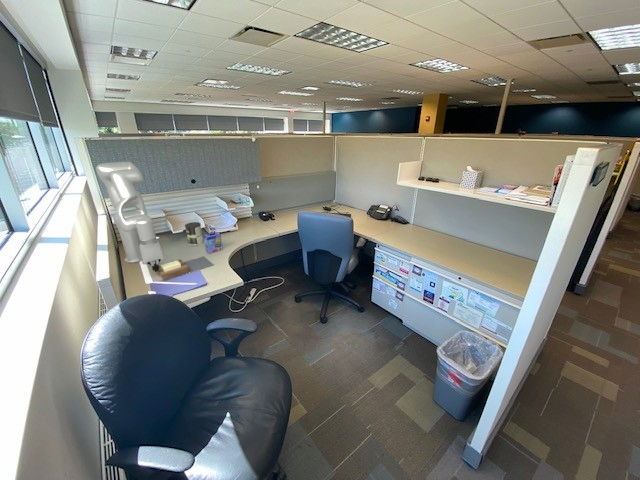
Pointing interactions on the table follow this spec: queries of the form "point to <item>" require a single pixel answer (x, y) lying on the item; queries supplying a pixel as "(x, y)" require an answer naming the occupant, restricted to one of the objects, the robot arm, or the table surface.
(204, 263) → the mat
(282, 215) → the table surface
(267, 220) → the table surface
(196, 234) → the coffee can
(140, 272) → the table surface
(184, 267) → the block
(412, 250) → the table surface
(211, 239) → the ink cartridge box
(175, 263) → the notepad
